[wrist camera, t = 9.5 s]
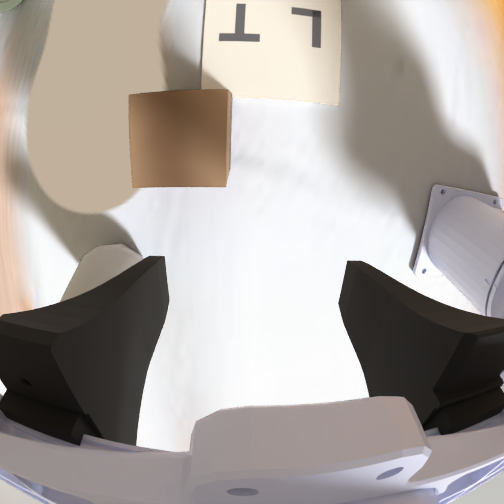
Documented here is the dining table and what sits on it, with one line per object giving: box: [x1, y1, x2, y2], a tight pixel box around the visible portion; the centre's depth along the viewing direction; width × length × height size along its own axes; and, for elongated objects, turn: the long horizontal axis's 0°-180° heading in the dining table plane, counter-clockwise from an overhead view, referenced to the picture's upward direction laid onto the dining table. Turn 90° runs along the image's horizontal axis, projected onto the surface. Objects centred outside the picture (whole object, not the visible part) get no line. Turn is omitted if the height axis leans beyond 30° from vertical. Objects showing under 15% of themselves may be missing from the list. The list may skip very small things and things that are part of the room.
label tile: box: [201, 0, 341, 106], centre depth 15 cm, size 9×11×1 cm
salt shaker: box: [60, 244, 143, 302], centre depth 16 cm, size 6×6×13 cm
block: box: [129, 89, 232, 188], centre depth 16 cm, size 5×5×5 cm
